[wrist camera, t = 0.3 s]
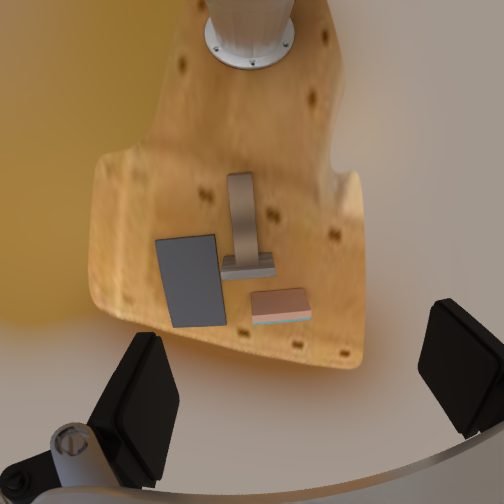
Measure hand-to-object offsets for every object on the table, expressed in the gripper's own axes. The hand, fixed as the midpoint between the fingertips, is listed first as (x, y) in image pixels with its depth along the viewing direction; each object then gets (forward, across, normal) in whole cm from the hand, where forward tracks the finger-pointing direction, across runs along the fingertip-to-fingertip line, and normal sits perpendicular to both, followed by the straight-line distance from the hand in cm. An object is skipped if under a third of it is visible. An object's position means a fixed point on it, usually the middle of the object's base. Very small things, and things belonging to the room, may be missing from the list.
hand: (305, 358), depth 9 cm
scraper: (+34, +2, +1) cm, 34 cm away
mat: (+34, +12, +11) cm, 38 cm away
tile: (+34, -1, +14) cm, 37 cm away
